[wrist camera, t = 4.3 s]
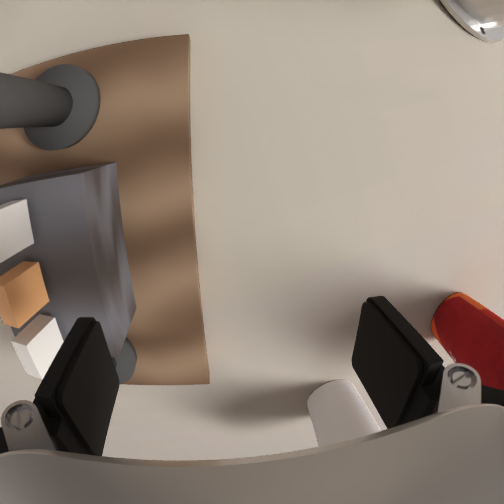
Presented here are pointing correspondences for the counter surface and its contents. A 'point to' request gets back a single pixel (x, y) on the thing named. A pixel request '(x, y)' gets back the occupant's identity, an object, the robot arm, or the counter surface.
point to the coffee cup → (472, 337)
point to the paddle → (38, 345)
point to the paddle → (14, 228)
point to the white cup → (339, 413)
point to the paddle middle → (22, 293)
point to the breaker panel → (144, 192)
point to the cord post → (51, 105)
